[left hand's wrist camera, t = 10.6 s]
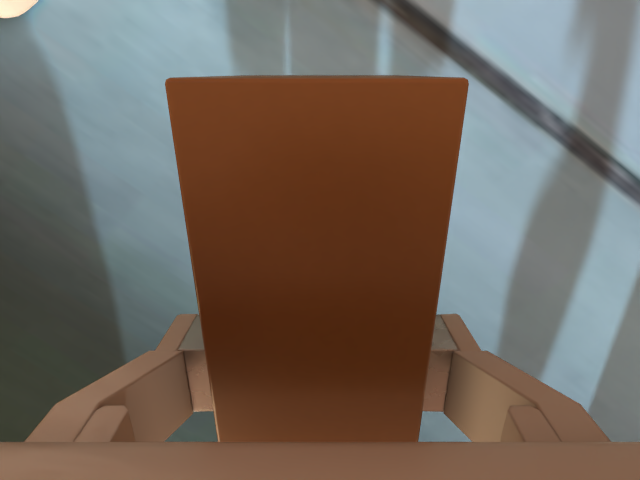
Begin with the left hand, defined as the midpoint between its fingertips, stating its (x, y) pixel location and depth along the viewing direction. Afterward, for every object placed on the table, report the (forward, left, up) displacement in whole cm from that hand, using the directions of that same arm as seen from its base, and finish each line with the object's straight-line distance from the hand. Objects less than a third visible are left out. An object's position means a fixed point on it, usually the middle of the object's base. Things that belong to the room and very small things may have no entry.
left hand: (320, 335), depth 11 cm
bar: (+24, +18, -4) cm, 30 cm away
